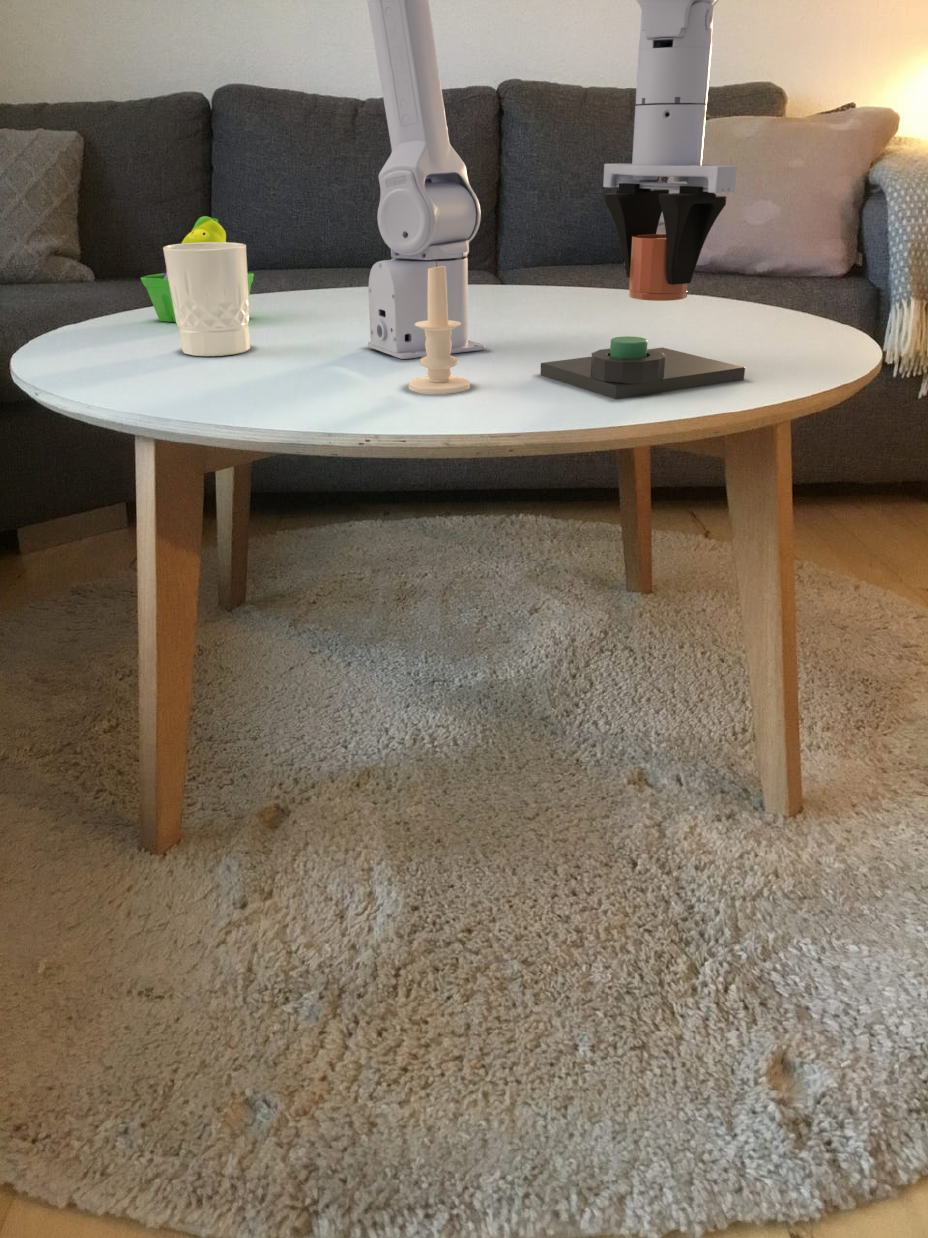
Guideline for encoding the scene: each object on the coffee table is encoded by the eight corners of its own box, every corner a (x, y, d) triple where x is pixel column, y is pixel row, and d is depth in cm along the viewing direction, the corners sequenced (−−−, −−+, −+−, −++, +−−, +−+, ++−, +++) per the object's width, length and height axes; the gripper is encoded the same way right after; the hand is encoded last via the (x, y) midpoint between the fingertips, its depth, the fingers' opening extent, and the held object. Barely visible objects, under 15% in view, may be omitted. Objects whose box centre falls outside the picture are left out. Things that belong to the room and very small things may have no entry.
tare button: (624, 363, 82) (626, 343, 81) (602, 357, 84) (603, 338, 84) (653, 359, 83) (655, 340, 83) (630, 353, 86) (632, 334, 85)
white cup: (271, 349, 103) (262, 245, 98) (205, 361, 97) (192, 251, 93) (226, 340, 107) (215, 240, 103) (161, 351, 102) (147, 246, 98)
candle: (396, 387, 87) (392, 259, 82) (445, 378, 89) (443, 254, 85) (432, 398, 83) (429, 264, 78) (482, 389, 86) (482, 259, 81)
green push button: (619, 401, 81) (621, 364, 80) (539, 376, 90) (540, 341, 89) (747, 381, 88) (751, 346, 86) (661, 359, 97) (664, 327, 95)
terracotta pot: (653, 302, 86) (658, 239, 83) (617, 295, 90) (620, 235, 87) (698, 297, 88) (704, 236, 86) (661, 291, 92) (665, 232, 90)
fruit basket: (142, 322, 119) (128, 219, 114) (188, 311, 126) (177, 214, 121) (224, 327, 115) (213, 221, 110) (266, 316, 122) (258, 215, 117)
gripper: (772, 102, 78) (752, 285, 84) (651, 108, 90) (641, 269, 96) (703, 101, 75) (687, 292, 81) (587, 107, 87) (580, 274, 92)
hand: (658, 280), depth 88 cm, fingers closed on terracotta pot, 5 cm apart
